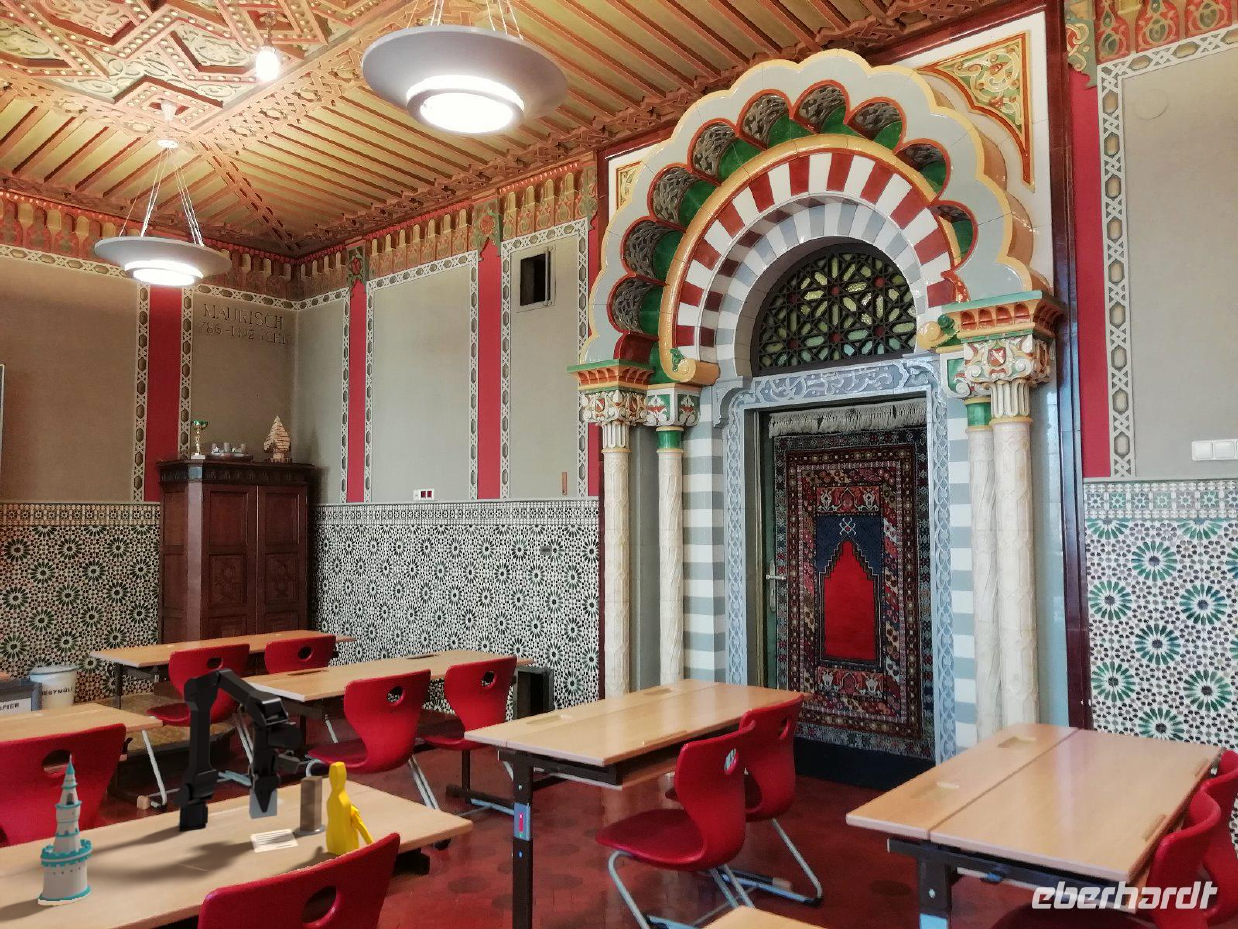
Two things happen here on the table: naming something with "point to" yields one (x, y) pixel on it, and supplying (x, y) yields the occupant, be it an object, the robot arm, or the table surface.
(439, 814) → the table surface
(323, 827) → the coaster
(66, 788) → the model tower
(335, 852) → the figure statuette
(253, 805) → the grey cube
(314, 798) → the walnut block
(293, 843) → the letter
